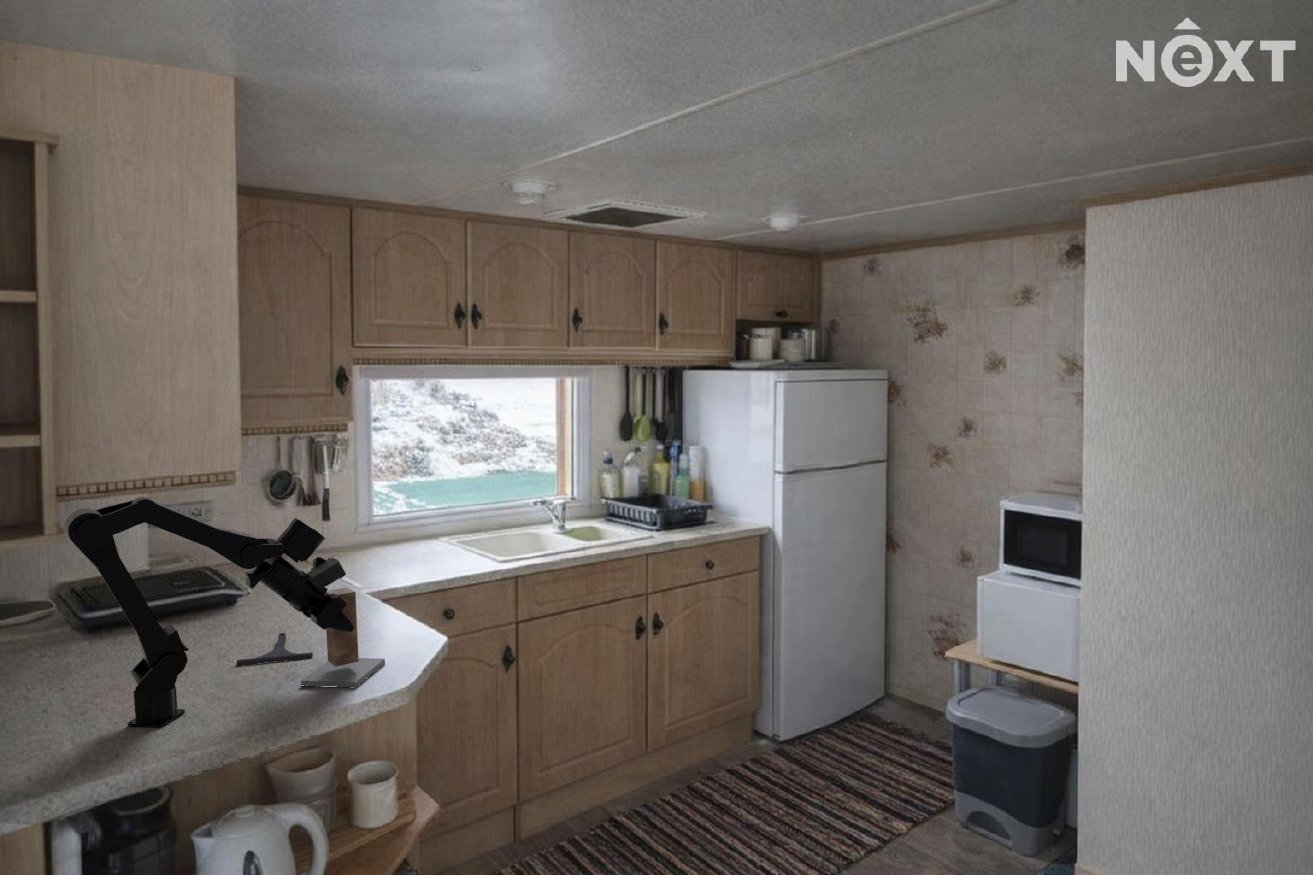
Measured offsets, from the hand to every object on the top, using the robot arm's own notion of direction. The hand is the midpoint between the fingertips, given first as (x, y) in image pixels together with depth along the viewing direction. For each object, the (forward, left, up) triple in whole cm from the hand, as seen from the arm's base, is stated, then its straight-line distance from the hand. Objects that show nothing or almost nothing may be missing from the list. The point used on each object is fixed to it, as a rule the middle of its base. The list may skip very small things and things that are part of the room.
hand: (348, 627), depth 172 cm
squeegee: (+12, +22, -10) cm, 27 cm away
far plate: (-1, +1, -9) cm, 10 cm away
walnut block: (-1, +1, -7) cm, 7 cm away
